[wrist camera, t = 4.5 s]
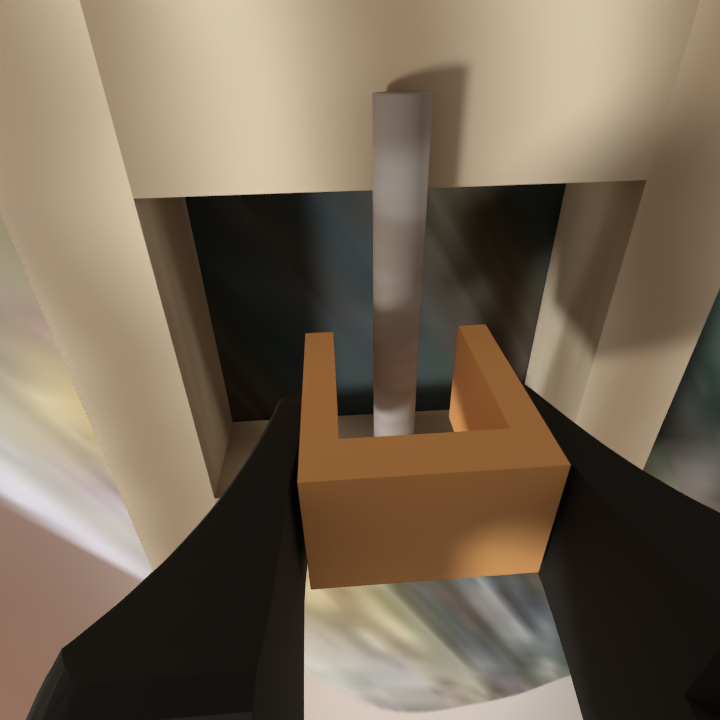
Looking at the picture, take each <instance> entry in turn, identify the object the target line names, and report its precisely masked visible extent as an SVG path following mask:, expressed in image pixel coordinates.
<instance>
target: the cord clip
mask: <svg viewBox="0 0 720 720" xmlns="http://www.w3.org/2000/svg"><path fill="white" fill-rule="evenodd" d="M449 419H450V421H451V424H452V427H453V430H454V432H445V433H429V434H413V435H396V436H380V437H364V438H347V439H339V426H338V408H337V390H336V372H335V355H334V337H333V332H323V333H305V350H304V369H303V387H302V406H301V424H300V443H299V461H298V480H297V484H298V492H299V500H300V508H301V515H302V523H303V531H304V539H305V547H306V555H307V563H308V570H309V578H310V586H311V589H323V588H336V587H349V586H362V585H375V584H388V583H402V582H415V581H428V580H441V579H454V578H467V577H480V576H494V575H507V574H520V573H533V572H539V569H540V565H541V562H542V559H543V556H544V552H545V549H546V546H547V542H548V539H549V536H550V532H551V529H552V526H553V522H554V519H555V516H556V512H557V509H558V506H559V502H560V499H561V496H562V492H563V489H564V486H565V483H566V479H567V476H568V473H569V469H570V466H571V464H570V463H569V461H568V460H567V458H566V456H565V455H564V453H563V451H562V450H561V448H560V446H559V445H558V443H557V441H556V440H555V438H554V436H553V435H552V433H551V432H550V430H549V428H548V427H547V425H546V423H545V422H544V420H543V418H542V417H541V415H540V413H539V412H538V410H537V408H536V407H535V405H534V404H533V402H532V400H531V399H530V397H529V395H528V394H527V392H526V390H525V389H524V387H523V385H522V384H521V382H520V380H519V379H518V377H517V376H516V374H515V372H514V371H513V369H512V367H511V366H510V364H509V362H508V361H507V359H506V357H505V356H504V354H503V353H502V351H501V349H500V348H499V346H498V344H497V343H496V341H495V339H494V338H493V336H492V334H491V333H490V331H489V329H488V328H487V326H486V325H485V324H481V325H461V326H458V334H457V344H456V353H455V363H454V373H453V382H452V392H451V401H450V411H449Z"/></svg>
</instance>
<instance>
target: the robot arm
mask: <svg viewBox="0 0 720 720" xmlns="http://www.w3.org/2000/svg"><path fill="white" fill-rule="evenodd" d="M521 384H522V385H523V387H524V389H525V390H526V392H527V394H528V395H529V397H530V399H531V400H532V402H533V404H534V405H535V407H536V408H537V410H538V412H539V413H540V415H541V417H542V418H543V420H544V422H545V423H546V425H547V427H548V428H549V430H550V432H551V433H552V435H553V436H554V438H555V440H556V441H557V443H558V445H559V446H560V448H561V450H562V451H563V453H564V455H565V456H566V458H567V460H568V461H569V463H570V464H571V466H570V469H569V473H568V476H567V479H566V483H565V486H564V489H563V492H562V496H561V499H560V502H559V506H558V509H557V512H556V516H555V519H554V522H553V526H552V529H551V532H550V536H549V539H548V542H547V546H546V549H545V552H544V556H543V559H542V562H541V565H540V569H539V572H538V574H539V577H540V579H541V582H542V585H543V588H544V591H545V594H546V597H547V600H548V603H549V606H550V609H551V612H552V615H553V618H554V621H555V624H556V628H557V631H558V634H559V637H560V641H561V644H562V647H563V651H564V654H565V657H566V660H567V664H568V667H569V670H570V674H571V677H572V681H573V685H574V688H575V691H576V695H577V699H578V702H579V706H580V709H581V713H582V716H583V720H720V513H719V512H717V511H715V510H713V509H711V508H709V507H707V506H705V505H703V504H701V503H699V502H697V501H695V500H694V499H692V498H690V497H688V496H686V495H684V494H682V493H681V492H679V491H677V490H675V489H674V488H672V487H670V486H668V485H667V484H665V483H663V482H662V481H660V480H658V479H656V478H655V477H653V476H651V475H650V474H648V473H646V472H645V471H643V470H642V469H640V468H638V467H637V466H635V465H634V464H632V463H631V462H629V461H628V460H626V459H625V458H623V457H622V456H620V455H619V454H617V453H616V452H614V451H613V450H611V449H610V448H608V447H607V446H606V445H604V444H603V443H601V442H600V441H599V440H597V439H596V438H594V437H593V436H592V435H590V434H589V433H588V432H586V431H585V430H584V429H582V428H581V427H580V426H578V425H577V424H576V423H574V422H573V421H572V420H570V419H569V418H568V417H567V416H565V415H564V414H563V413H561V412H560V411H559V410H558V409H556V408H555V407H554V406H553V405H551V404H550V403H549V402H548V401H546V400H545V399H544V398H542V397H541V396H540V395H539V394H537V393H536V392H535V391H533V390H532V389H531V388H529V387H528V386H527V385H525V384H524V383H521ZM301 406H302V396H290V397H282V398H281V399H280V400H279V401H278V403H277V405H276V408H275V410H274V412H273V414H272V416H271V418H270V420H269V422H268V424H267V426H266V428H265V430H264V432H263V433H262V435H261V437H260V439H259V440H258V442H257V444H256V445H255V447H254V449H253V450H252V452H251V454H250V455H249V457H248V459H247V460H246V462H245V463H244V465H243V466H242V468H241V469H240V471H239V472H238V474H237V475H236V476H235V478H234V479H233V481H232V482H231V484H230V485H229V487H228V488H227V489H226V491H225V492H224V493H223V495H222V496H221V497H220V499H219V500H218V501H217V502H216V504H215V505H214V506H213V507H212V509H211V510H210V511H209V512H208V514H207V515H206V516H205V517H204V518H203V520H202V521H201V522H200V523H199V524H198V525H197V526H196V528H195V529H194V530H193V531H192V532H191V533H190V534H189V535H188V536H187V537H186V539H185V540H184V541H183V542H182V543H181V544H180V545H179V546H178V547H177V548H176V549H175V550H174V551H173V552H172V553H171V555H170V556H169V557H168V558H167V559H166V560H165V561H164V562H163V563H161V564H160V565H159V566H158V567H157V568H156V569H155V570H154V571H153V572H152V573H151V574H150V575H149V576H148V577H147V578H145V579H144V580H143V581H142V582H141V583H140V584H139V585H138V586H137V587H136V588H135V589H134V590H133V591H132V592H131V593H130V594H128V595H127V596H126V597H125V598H124V599H123V600H122V601H120V602H119V603H118V604H117V605H116V606H115V607H113V608H112V609H111V610H110V611H109V612H107V613H106V614H105V615H104V616H102V617H101V618H100V619H99V620H97V621H96V622H95V623H94V624H93V625H91V626H90V627H89V628H88V629H87V630H85V631H84V632H83V633H82V634H80V635H79V636H78V637H77V638H75V639H74V640H73V641H71V642H70V643H69V644H68V645H66V646H65V647H64V648H62V650H61V651H60V653H59V655H58V657H57V659H56V660H55V662H54V664H53V666H52V668H51V670H50V671H49V673H48V674H47V676H46V678H45V680H44V682H43V684H42V686H41V688H40V690H39V692H38V694H37V696H36V698H35V700H34V703H33V705H32V707H31V709H30V712H29V714H28V716H27V719H26V720H304V600H305V583H306V573H307V555H306V547H305V539H304V531H303V523H302V515H301V508H300V500H299V492H298V484H297V480H298V461H299V443H300V424H301Z"/></svg>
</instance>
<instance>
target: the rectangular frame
mask: <svg viewBox="0 0 720 720" xmlns="http://www.w3.org/2000/svg"><path fill="white" fill-rule="evenodd" d="M554 183H566V187H565V192H564V197H563V202H562V206H561V211H560V216H559V221H558V226H557V230H556V235H555V240H554V245H553V250H552V254H551V259H550V264H549V269H548V274H547V279H546V283H545V288H544V293H543V298H542V303H541V307H540V312H539V317H538V322H537V327H536V332H535V336H534V341H533V346H532V351H531V356H530V360H529V365H528V370H527V375H526V380H525V385H527V386H528V387H529V388H531V389H532V390H533V391H535V392H536V393H537V394H539V395H540V396H541V397H542V398H544V399H545V400H546V401H548V402H549V403H550V404H551V405H553V406H554V407H555V408H556V409H558V410H559V411H560V412H561V413H563V414H564V415H565V416H567V417H568V418H569V419H570V420H572V421H573V422H574V423H576V424H577V425H578V426H580V427H581V428H582V429H584V430H585V431H586V432H588V433H589V434H590V435H592V436H593V437H594V438H596V439H597V440H599V441H600V442H601V443H603V444H604V445H606V446H607V447H608V448H610V449H611V450H613V451H614V452H616V453H617V454H619V455H620V456H622V457H623V458H625V459H626V460H628V461H629V462H631V463H632V464H634V465H635V466H637V467H638V468H640V469H642V470H643V468H644V466H645V463H646V461H647V458H648V456H649V454H650V451H651V449H652V447H653V444H654V442H655V440H656V437H657V435H658V433H659V430H660V428H661V425H662V423H663V421H664V418H665V416H666V414H667V411H668V409H669V407H670V404H671V402H672V400H673V397H674V395H675V393H676V390H677V388H678V385H679V383H680V381H681V378H682V376H683V374H684V371H685V369H686V367H687V364H688V362H689V360H690V357H691V355H692V352H693V350H694V348H695V345H696V343H697V341H698V338H699V336H700V334H701V331H702V329H703V327H704V324H705V322H706V319H707V317H708V315H709V312H710V310H711V308H712V305H713V303H714V301H715V298H716V296H717V294H718V291H719V289H720V0H0V212H1V215H2V217H3V219H4V222H5V224H6V226H7V229H8V231H9V233H10V236H11V238H12V241H13V243H14V245H15V248H16V250H17V252H18V255H19V257H20V259H21V262H22V264H23V266H24V269H25V271H26V273H27V276H28V278H29V281H30V283H31V285H32V288H33V290H34V292H35V295H36V297H37V299H38V302H39V304H40V306H41V309H42V311H43V313H44V316H45V318H46V320H47V323H48V325H49V328H50V330H51V332H52V335H53V337H54V339H55V342H56V344H57V346H58V349H59V351H60V353H61V356H62V358H63V360H64V363H65V365H66V368H67V370H68V372H69V375H70V377H71V379H72V382H73V384H74V386H75V389H76V391H77V393H78V396H79V398H80V400H81V403H82V405H83V408H84V410H85V412H86V415H87V417H88V419H89V422H90V424H91V426H92V429H93V431H94V433H95V436H96V438H97V440H98V443H99V445H100V447H101V450H102V452H103V455H104V457H105V459H106V462H107V464H108V466H109V469H110V471H111V473H112V476H113V478H114V480H115V483H116V485H117V487H118V490H119V492H120V495H121V497H122V499H123V502H124V504H125V506H126V509H127V511H128V513H129V516H130V518H131V520H132V523H133V525H134V527H135V530H136V532H137V535H138V537H139V539H140V542H141V544H142V546H143V549H144V551H145V553H146V556H147V558H148V560H149V563H150V565H151V567H152V570H153V571H154V570H155V569H156V568H157V567H158V566H159V565H160V564H161V563H163V562H164V561H165V560H166V559H167V558H168V557H169V556H170V555H171V553H172V552H173V551H174V550H175V549H176V548H177V547H178V546H179V545H180V544H181V543H182V542H183V541H184V540H185V539H186V537H187V536H188V535H189V534H190V533H191V532H192V531H193V530H194V529H195V528H196V526H197V525H198V524H199V523H200V522H201V521H202V520H203V518H204V517H205V516H206V515H207V514H208V512H209V511H210V510H211V509H212V507H213V506H214V505H215V504H216V502H217V501H218V500H219V499H220V497H221V496H222V495H223V493H224V492H225V491H226V489H227V488H228V487H229V485H230V484H231V482H232V481H233V479H234V478H235V476H236V475H237V474H238V472H239V471H240V469H241V468H242V466H243V465H244V463H245V462H246V460H247V459H248V457H249V455H250V454H251V452H252V450H253V449H254V447H255V445H256V444H257V442H258V440H259V439H260V437H261V435H262V433H263V432H264V430H265V428H266V426H267V424H268V422H269V420H260V421H242V422H233V421H232V416H231V411H230V407H229V402H228V397H227V393H226V388H225V383H224V378H223V374H222V369H221V364H220V360H219V355H218V350H217V346H216V341H215V336H214V332H213V327H212V322H211V317H210V313H209V308H208V303H207V299H206V294H205V289H204V285H203V280H202V275H201V271H200V266H199V261H198V256H197V252H196V247H195V242H194V238H193V233H192V228H191V224H190V219H189V214H188V210H187V205H186V200H185V197H194V196H222V195H250V194H277V193H305V192H333V191H360V190H373V348H374V414H364V415H347V416H338V426H339V439H347V438H364V437H380V436H396V435H413V434H429V433H445V432H454V430H453V427H452V424H451V421H450V419H449V411H450V410H433V411H416V412H415V402H416V385H417V367H418V349H419V331H420V313H421V295H422V278H423V260H424V242H425V224H426V206H427V188H443V187H471V186H499V185H526V184H554ZM307 564H308V563H307Z"/></svg>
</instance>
